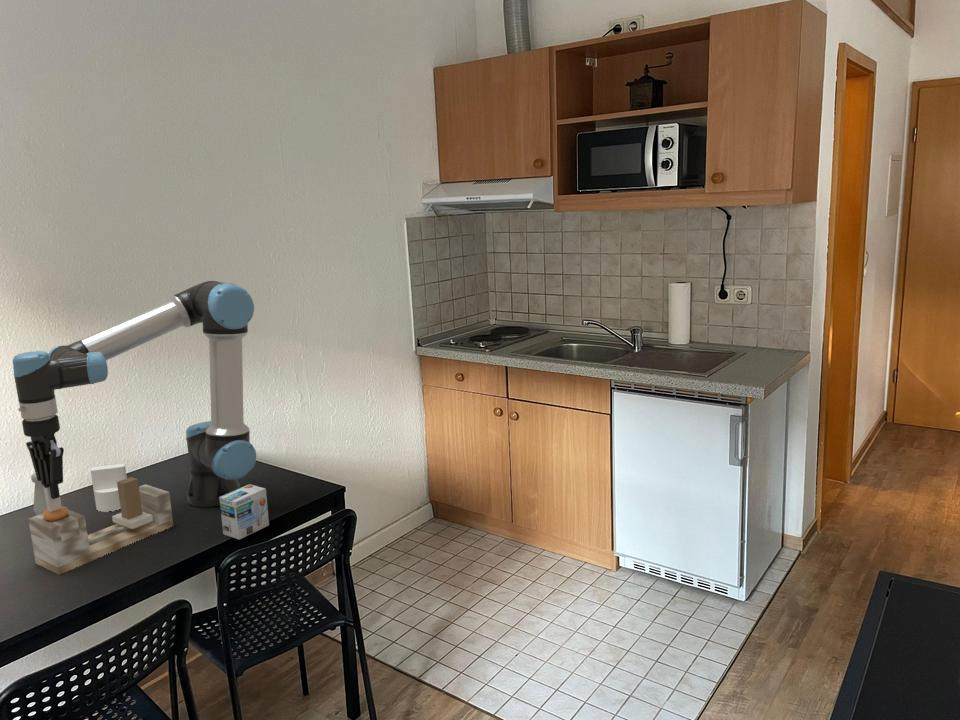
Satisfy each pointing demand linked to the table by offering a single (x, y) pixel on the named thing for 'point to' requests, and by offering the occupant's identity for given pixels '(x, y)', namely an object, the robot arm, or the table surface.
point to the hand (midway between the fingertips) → (54, 509)
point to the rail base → (94, 534)
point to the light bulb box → (244, 511)
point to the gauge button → (55, 514)
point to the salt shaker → (39, 496)
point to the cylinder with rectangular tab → (107, 486)
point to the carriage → (130, 505)
